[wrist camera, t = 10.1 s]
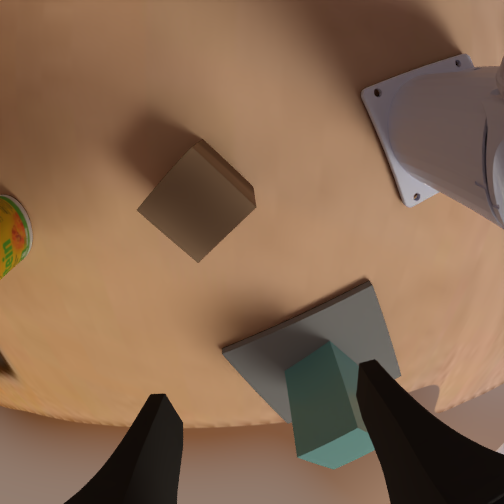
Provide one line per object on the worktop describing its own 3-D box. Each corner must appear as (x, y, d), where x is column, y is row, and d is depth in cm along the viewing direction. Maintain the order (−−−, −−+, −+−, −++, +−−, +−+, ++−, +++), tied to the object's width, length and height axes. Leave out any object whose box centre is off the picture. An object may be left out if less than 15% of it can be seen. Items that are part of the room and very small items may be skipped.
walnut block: (202, 138, 16) (191, 146, 13) (253, 186, 18) (256, 207, 14) (157, 189, 17) (136, 210, 14) (206, 232, 19) (198, 262, 15)
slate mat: (369, 280, 21) (372, 285, 20) (399, 371, 25) (401, 375, 25) (222, 348, 23) (222, 354, 22) (287, 419, 27) (287, 423, 27)
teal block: (329, 340, 22) (357, 427, 15) (358, 365, 24) (387, 442, 16) (284, 370, 23) (297, 457, 16) (316, 392, 25) (333, 469, 18)
